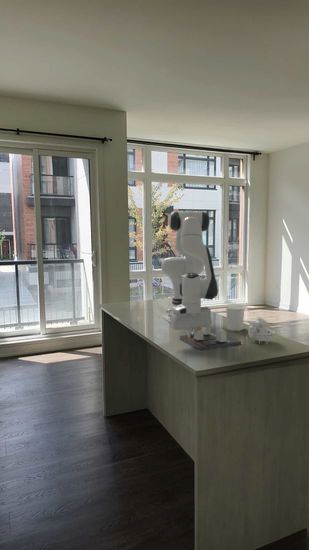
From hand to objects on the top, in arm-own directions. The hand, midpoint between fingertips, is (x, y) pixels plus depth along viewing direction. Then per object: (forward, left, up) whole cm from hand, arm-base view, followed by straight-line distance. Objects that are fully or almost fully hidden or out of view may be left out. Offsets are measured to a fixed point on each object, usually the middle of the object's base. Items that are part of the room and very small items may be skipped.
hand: (191, 337), depth 166 cm
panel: (0, +10, -3) cm, 10 cm away
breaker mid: (0, +4, -1) cm, 4 cm away
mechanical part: (+11, +32, -3) cm, 34 cm away
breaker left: (-7, +12, -1) cm, 14 cm away
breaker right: (+7, +12, -1) cm, 14 cm away
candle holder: (-16, +36, -4) cm, 39 cm away
